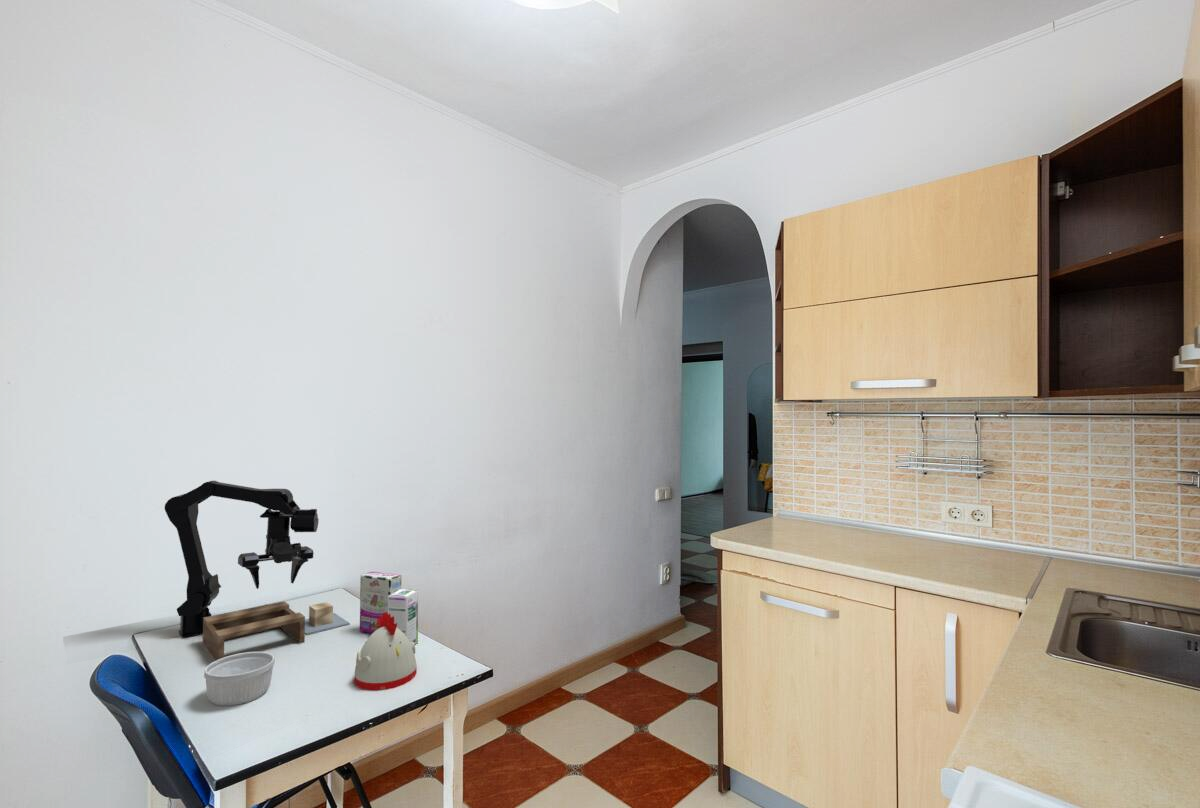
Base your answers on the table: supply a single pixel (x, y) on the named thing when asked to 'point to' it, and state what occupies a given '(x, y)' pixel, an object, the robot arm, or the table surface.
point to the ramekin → (239, 678)
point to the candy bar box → (375, 598)
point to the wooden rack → (250, 625)
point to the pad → (336, 623)
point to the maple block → (320, 614)
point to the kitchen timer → (385, 658)
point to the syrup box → (405, 612)
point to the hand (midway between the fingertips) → (275, 585)
